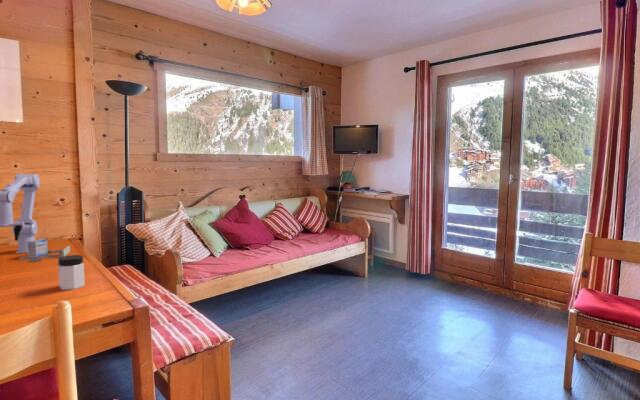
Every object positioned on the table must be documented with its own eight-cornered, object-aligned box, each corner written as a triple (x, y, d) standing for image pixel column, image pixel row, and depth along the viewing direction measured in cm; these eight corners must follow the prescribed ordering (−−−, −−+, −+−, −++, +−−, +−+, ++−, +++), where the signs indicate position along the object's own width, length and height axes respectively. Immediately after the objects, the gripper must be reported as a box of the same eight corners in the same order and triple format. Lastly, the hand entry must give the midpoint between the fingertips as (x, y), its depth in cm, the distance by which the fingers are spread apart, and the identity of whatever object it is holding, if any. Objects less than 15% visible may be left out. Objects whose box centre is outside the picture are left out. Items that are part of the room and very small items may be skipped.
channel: (28, 254, 198) (28, 248, 198) (70, 251, 206) (69, 246, 206) (19, 260, 186) (19, 254, 185) (64, 256, 193) (64, 251, 193)
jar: (54, 290, 140) (52, 260, 139) (64, 284, 148) (62, 255, 147) (80, 289, 142) (79, 259, 141) (88, 282, 150) (87, 254, 149)
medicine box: (36, 258, 190) (35, 241, 190) (28, 257, 190) (27, 241, 190) (48, 254, 198) (47, 238, 197) (39, 254, 198) (39, 238, 198)
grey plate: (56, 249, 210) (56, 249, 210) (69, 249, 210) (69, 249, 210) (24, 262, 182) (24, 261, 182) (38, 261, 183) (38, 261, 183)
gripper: (-17, 216, 178) (-15, 243, 179) (20, 214, 184) (22, 241, 185) (-11, 214, 185) (-9, 240, 186) (25, 213, 191) (26, 238, 192)
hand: (7, 240), depth 186 cm, fingers open, 7 cm apart
